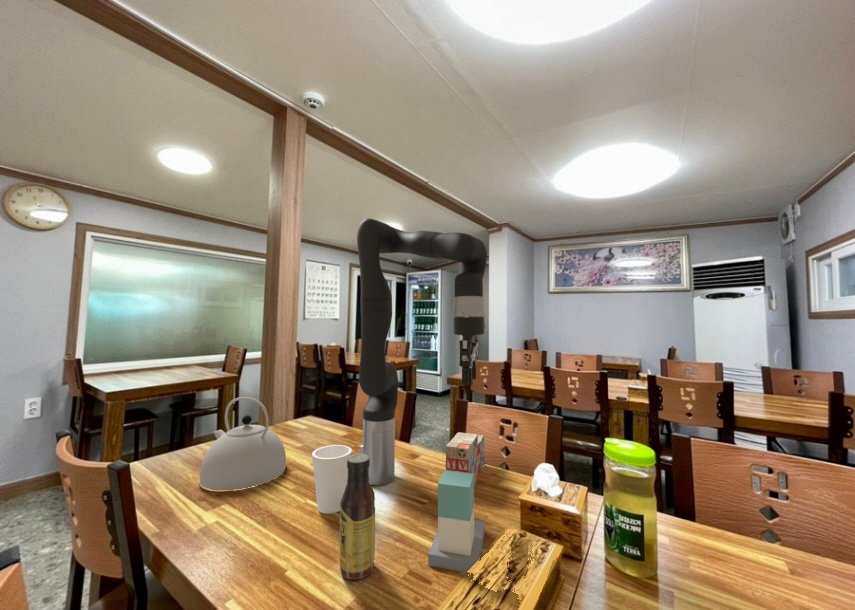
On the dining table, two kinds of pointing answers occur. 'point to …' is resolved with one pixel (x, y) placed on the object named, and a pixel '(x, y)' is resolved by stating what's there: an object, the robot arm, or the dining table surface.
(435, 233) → the robot arm
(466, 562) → the board
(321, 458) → the foam cup
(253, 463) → the kettle
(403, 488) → the dining table surface
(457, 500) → the teal cube
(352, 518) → the sauce bottle
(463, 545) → the cream cube
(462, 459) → the stack of blocks
